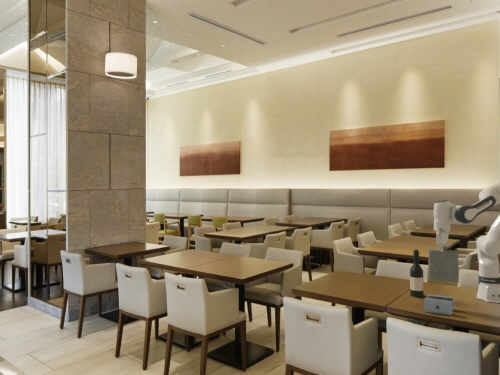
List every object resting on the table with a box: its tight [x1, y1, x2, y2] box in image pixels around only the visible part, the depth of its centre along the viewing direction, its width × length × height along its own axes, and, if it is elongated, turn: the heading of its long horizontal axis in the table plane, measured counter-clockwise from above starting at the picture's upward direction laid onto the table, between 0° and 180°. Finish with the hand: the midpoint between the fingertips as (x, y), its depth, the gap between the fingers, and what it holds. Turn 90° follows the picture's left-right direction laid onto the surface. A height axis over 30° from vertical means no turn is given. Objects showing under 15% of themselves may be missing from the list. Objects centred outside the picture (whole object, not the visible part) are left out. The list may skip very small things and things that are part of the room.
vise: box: [423, 293, 455, 316], centre depth 229 cm, size 14×14×7 cm
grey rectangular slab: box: [427, 245, 459, 283], centre depth 236 cm, size 16×4×20 cm, turn 57°
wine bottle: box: [409, 248, 425, 298], centre depth 261 cm, size 8×8×30 cm
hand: (442, 251), depth 236 cm, fingers closed on grey rectangular slab, 4 cm apart
